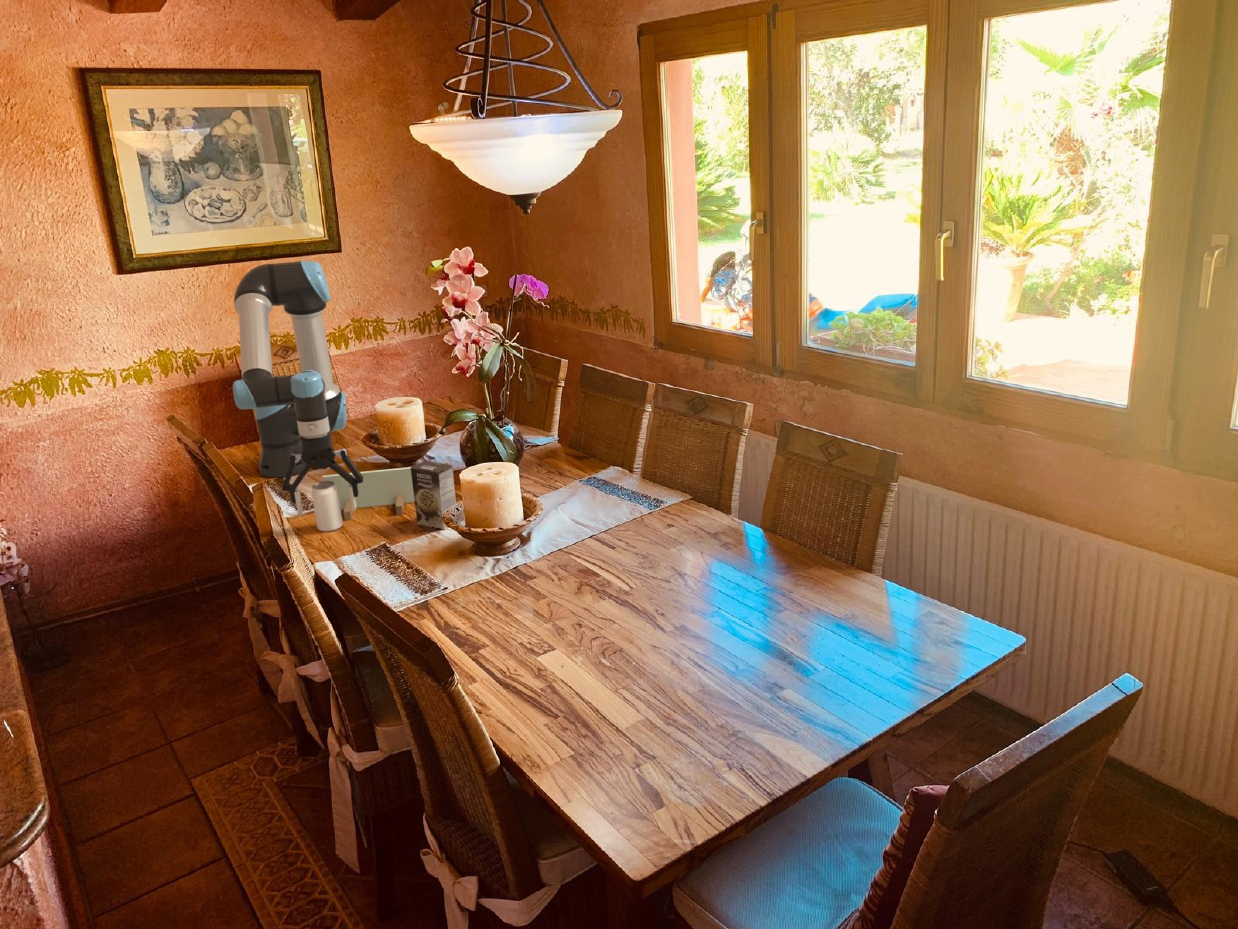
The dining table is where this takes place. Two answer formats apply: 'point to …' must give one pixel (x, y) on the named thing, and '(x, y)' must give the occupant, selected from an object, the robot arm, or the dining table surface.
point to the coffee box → (433, 492)
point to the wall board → (376, 489)
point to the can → (326, 506)
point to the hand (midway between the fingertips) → (327, 511)
